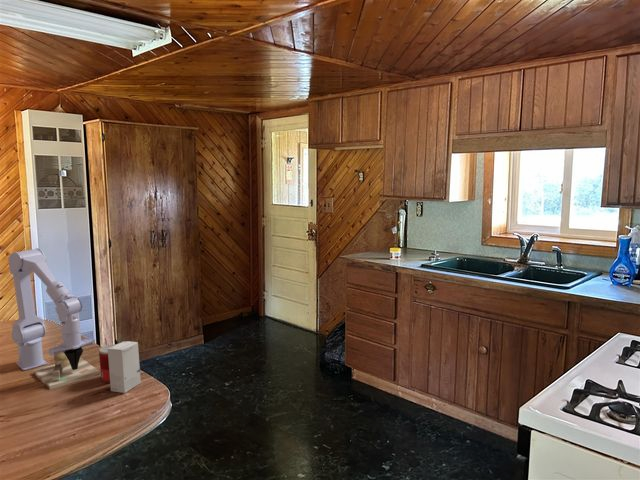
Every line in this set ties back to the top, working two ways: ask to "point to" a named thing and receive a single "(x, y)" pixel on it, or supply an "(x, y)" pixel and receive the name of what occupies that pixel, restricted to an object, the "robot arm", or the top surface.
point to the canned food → (104, 363)
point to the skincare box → (124, 366)
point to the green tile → (60, 379)
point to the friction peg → (59, 365)
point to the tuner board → (66, 374)
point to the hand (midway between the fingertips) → (74, 368)
